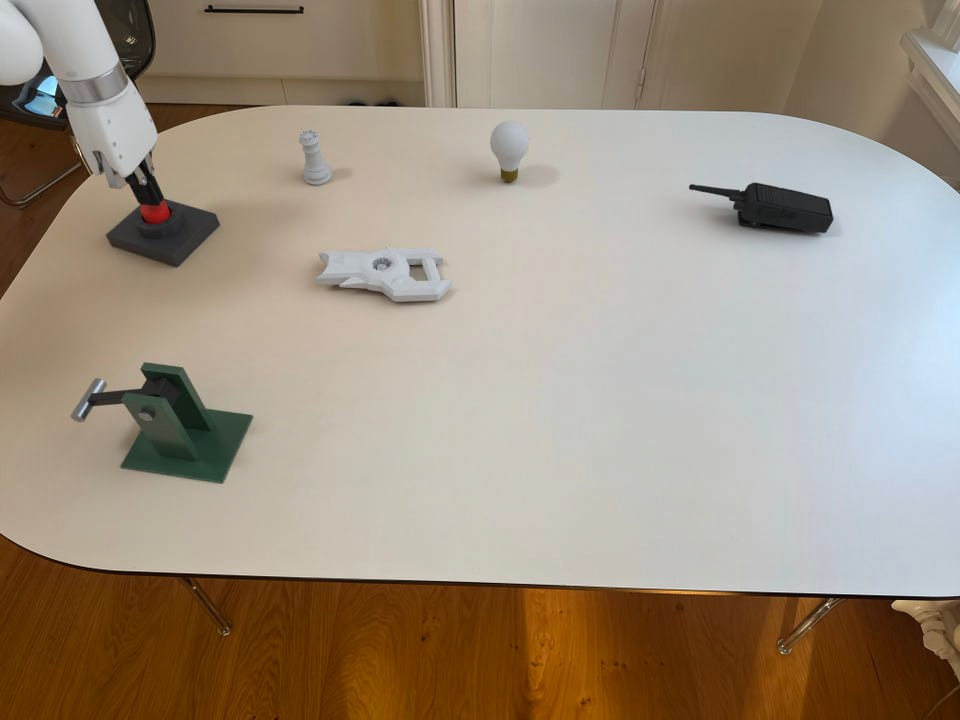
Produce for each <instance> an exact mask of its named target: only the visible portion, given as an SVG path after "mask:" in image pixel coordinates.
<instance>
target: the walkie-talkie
mask: <svg viewBox="0 0 960 720" xmlns="http://www.w3.org/2000/svg"><path fill="white" fill-rule="evenodd" d="M688 189H689V190H690V191H696V192H701V193H706V194H712V195H716V196H722V197H725V198H728V201H730V202H734V203H733V206H732V209H733V210H734V211H737V223H738V225H740V226H743V227H744V226H745V227H750V228H755V229H756V228H757V229H765V230H766V229H767V230H778V231H788V232H790V231H791V232H799V233H802V232H804V231H806V232H813V233H820V234H826V233H827V232H828V231H829V229H830V227H831V225H832V224H833V222H834V220H835V219H834V215H833V210H832V207H831V201H830V199H828V198H827V197H823V196H819V195H816V194H815V195H814V194H810V193H806V192H802V191H800V190H794V189H789V188H785V187H779V186H775V185H770V184H766V183H760V182H751V183H749V184H747V186H746V187H745V189H744V190H740V189H735V188H733V189H732V188H723V187H715V186H707V185H702V184H701V185H700V184H694V183H690V184H689V186H688Z"/></svg>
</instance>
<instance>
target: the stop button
mask: <svg viewBox="0 0 960 720" xmlns="http://www.w3.org/2000/svg"><path fill="white" fill-rule="evenodd" d="M160 202H161V203H160V205H159V206H152V205H142V206H141V208H140V212H141V214H142V216H143V218H144V220H145V221H146V222H147V223H148V224H157V223H160V222H163V221H165V220H167V219H168V218H169V217H170V211H169V209H168V206H167V204H166V202H165V201H160Z"/></svg>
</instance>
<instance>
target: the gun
mask: <svg viewBox="0 0 960 720" xmlns="http://www.w3.org/2000/svg"><path fill="white" fill-rule="evenodd" d="M318 259H319V260H320V261H321V262H322V263H324V264H325V265H326V268H325V270H324V271H323V272H322V273H321V274H320V275H318V276H317V277H315V282H316V285H319V286H339V288H348V289H349V288H350V289H366V290H369V291H373V292H379V293H380V292H381V293H383V294H384V295H385V296H386V297H388V298H389V299H390V300H391V301H393V302H398V303H399V302H432V301H439V300H440V299H441V298H442V297H444V295H445V294H446V293H447V292H448V291H449V290H451V288H453V280H449V279H448V280H447V279H441V276H440V273H439V270H438V267H437V265H443V264H444V258H443V256H442V255H440V254H439V252H438V251H437V250H435V248H433V247H418V248H417V247H416V248H398V247H392V246H385V248H382V249H381V248H380V249H377V250H372V251H371V250H370V251H336V250H326V251H325V252H318ZM421 265H422V269H423V272H424V274H425V277H426V280H416V279H415V278H414V277H412V276H411V275H410V272H411V271H410V268H411V267H410V266H421Z"/></svg>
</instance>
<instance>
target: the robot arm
mask: <svg viewBox="0 0 960 720" xmlns="http://www.w3.org/2000/svg"><path fill="white" fill-rule="evenodd" d="M44 59H45V60H46V62H47V65H48V66H49V68H50V70H51V72H52V74H53V76H54V78H55V80H56V83H57V84H58V86H59V87H60V90H61V91H62V93H63V95H64V97H65V100H66V101H67V102H66V104H65V110H66V114H67V117H68V121H69V124H70V127H71V130H72V132H73V135H74V137H75V140H76V141H77V144H78V147H79V149H80V151H81V153H82V155H83V157H84V159H85V162H86V163H87V166H88V167H89V169H90V171H91V172H92V174H93V175H94V176H101V175H102V174H104V175H105V179H106V181H107V185H108V187H109V188H110V189H115V190H121V189H123V188H124V187H126V186H127V185H128V186H129V187H130V189H131V191H132V193H133V196H134V197H135V199H136V201H137V203H138V204H139V205H140V204H141V205H152V206H159V205H160V203H161V202H160V201H163V199H165V195H164V193H163V192H162V190H161V187H160V186H159V183H158V181H157V178H156V176H155V175H154V174H155V172H156V169H155V166H154V162H153V151H154V150H155V147H156V145H157V141H158V137H159V136H158V131H157V128H156V124H155V123H154V120H153V118H152V116H151V113H150V111H149V110H148V107H147V106H146V103H145V101H144V100H143V97H142V96H141V94H140V92H139V91H138V88H137V87H136V86H135V84H134V83H133V81H132V80H131V79H130V77H129V76H128V74H127V72H126V71H125V68H124V66H123V64H122V61H121V58H120V56H119V55H118V52H117V51H116V48H115V46H114V43H113V41H112V39H111V36H110V34H109V32H108V30H107V27H106V25H105V23H104V21H103V18H102V16H101V13H100V11H99V9H98V7H97V5H96V3H95V0H0V86H16V85H22V84H25V83H28V81H30V80H32V79H33V78H34V77H36V76H37V75H38V74H39V71H41V69H42V65H43V63H44Z"/></svg>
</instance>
